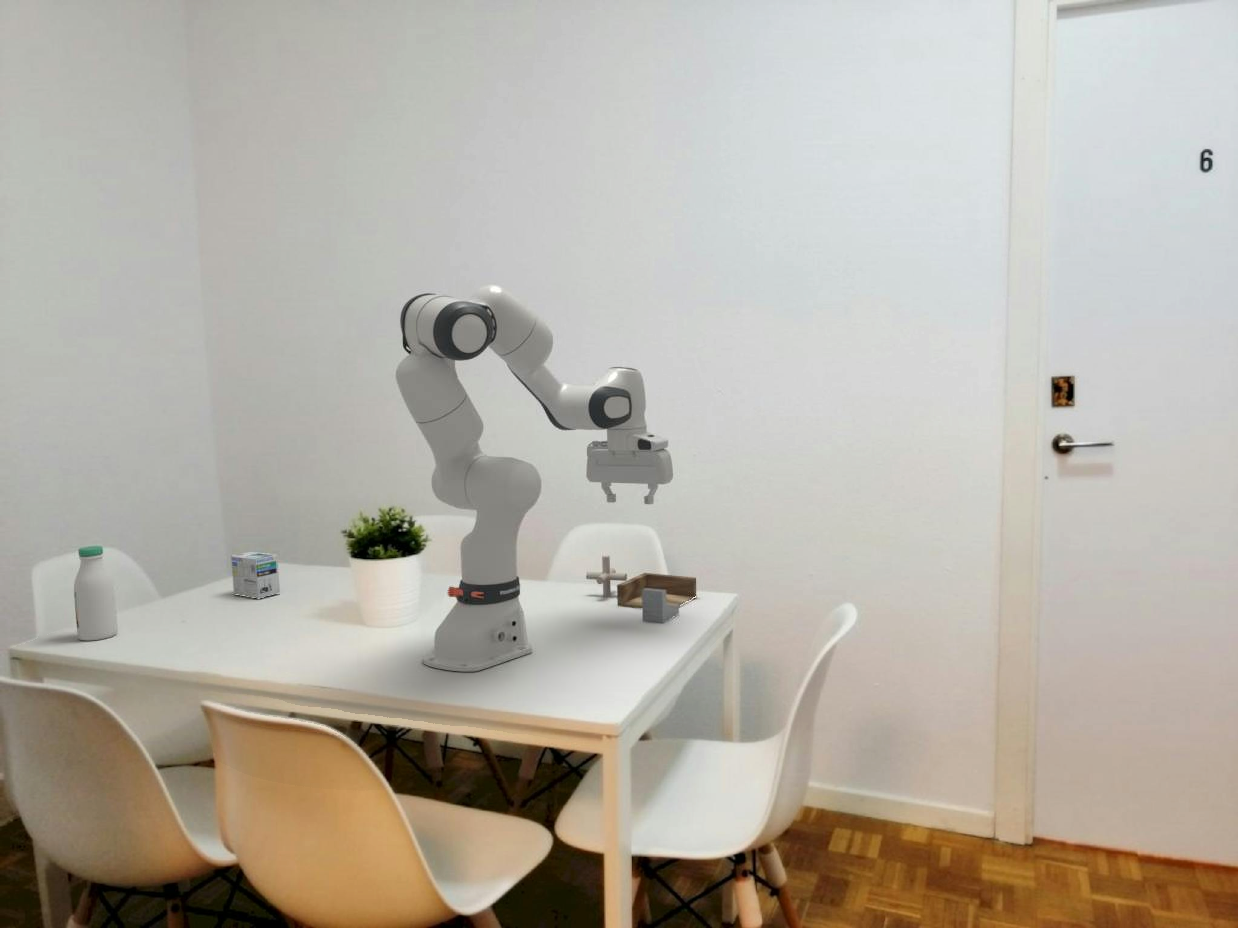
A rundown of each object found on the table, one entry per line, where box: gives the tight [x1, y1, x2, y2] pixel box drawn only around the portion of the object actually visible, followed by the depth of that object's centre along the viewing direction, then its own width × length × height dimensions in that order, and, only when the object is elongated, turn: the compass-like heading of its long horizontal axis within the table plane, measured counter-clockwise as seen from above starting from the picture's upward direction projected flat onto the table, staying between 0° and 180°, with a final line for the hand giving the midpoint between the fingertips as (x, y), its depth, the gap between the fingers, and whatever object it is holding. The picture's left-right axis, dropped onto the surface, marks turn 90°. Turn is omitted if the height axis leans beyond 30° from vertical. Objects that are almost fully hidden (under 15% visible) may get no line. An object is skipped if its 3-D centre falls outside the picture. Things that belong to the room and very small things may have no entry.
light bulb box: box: [230, 551, 281, 598], centre depth 234 cm, size 11×7×11 cm, turn 58°
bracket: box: [641, 588, 680, 624], centre depth 202 cm, size 8×5×7 cm, turn 150°
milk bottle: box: [73, 545, 119, 642], centre depth 199 cm, size 8×8×20 cm
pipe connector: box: [585, 555, 628, 598], centre depth 223 cm, size 10×10×10 cm
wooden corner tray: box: [616, 572, 697, 609], centre depth 216 cm, size 14×14×5 cm
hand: (630, 503), depth 200 cm, fingers open, 8 cm apart
